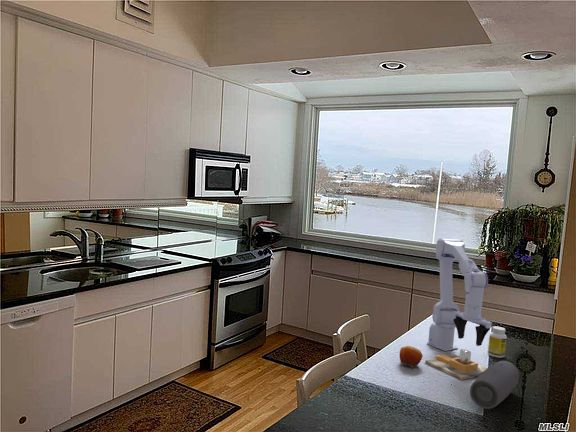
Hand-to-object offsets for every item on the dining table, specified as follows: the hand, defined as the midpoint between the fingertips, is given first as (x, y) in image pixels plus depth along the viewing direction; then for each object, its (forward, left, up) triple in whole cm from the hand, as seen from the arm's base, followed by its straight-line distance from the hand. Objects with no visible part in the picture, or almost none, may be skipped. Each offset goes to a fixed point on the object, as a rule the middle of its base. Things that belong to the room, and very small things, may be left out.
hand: (469, 341), depth 172 cm
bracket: (-2, -4, -9) cm, 10 cm away
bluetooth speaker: (+20, -14, -10) cm, 27 cm away
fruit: (-11, -18, -10) cm, 23 cm away
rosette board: (-2, -3, -10) cm, 10 cm away
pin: (+1, -4, -9) cm, 9 cm away
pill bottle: (-4, +23, -10) cm, 25 cm away
